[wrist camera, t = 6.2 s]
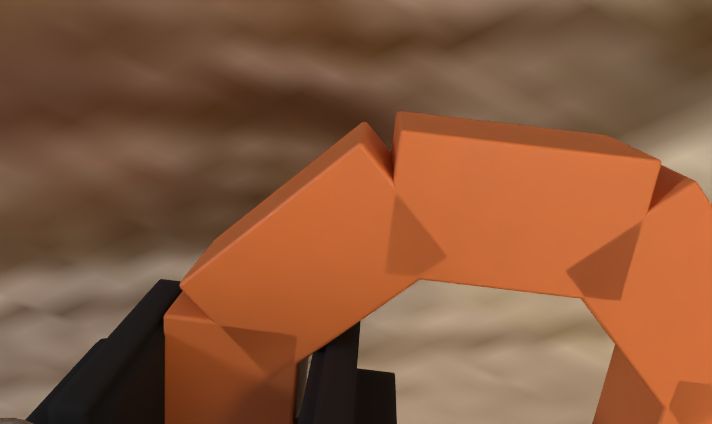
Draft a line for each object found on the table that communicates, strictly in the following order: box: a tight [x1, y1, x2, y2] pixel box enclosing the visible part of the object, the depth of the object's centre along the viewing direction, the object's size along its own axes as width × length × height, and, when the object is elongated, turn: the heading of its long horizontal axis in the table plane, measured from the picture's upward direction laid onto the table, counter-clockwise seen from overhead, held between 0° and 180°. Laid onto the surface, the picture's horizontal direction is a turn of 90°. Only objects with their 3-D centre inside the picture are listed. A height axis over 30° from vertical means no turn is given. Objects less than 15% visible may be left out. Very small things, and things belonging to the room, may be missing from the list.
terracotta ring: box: [164, 111, 712, 424], centre depth 10 cm, size 10×10×2 cm
